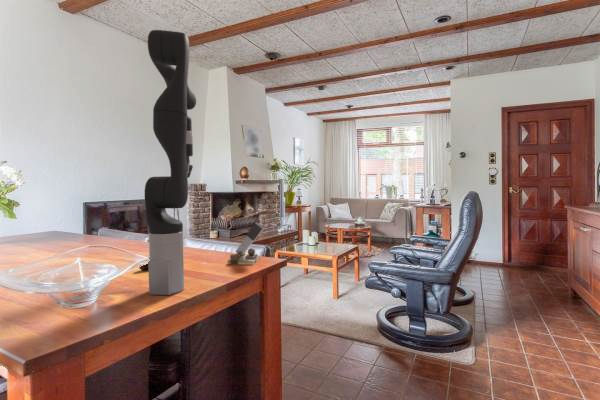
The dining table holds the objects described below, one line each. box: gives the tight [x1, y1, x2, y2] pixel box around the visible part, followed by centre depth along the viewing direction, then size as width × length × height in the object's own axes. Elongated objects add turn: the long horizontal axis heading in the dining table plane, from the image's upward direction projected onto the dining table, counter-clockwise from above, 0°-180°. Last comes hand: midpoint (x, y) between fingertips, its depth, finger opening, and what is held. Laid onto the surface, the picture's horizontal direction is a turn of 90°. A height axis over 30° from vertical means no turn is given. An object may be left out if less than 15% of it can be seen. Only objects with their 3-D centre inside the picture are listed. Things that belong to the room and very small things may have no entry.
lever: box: [234, 221, 265, 256], centre depth 136 cm, size 6×4×16 cm
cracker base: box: [227, 247, 260, 266], centre depth 137 cm, size 10×10×5 cm
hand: (183, 188), depth 132 cm, fingers closed
